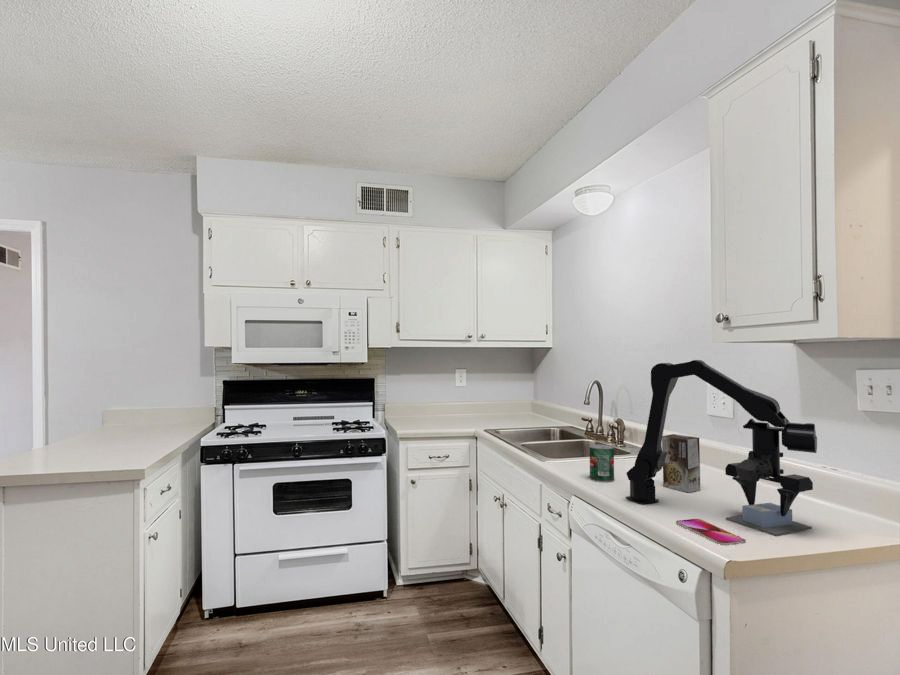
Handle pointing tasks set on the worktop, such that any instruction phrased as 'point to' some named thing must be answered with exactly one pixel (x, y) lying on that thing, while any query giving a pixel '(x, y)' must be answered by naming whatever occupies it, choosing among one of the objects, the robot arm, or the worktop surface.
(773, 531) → the mat
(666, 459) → the coffee box
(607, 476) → the canned tomato
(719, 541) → the smartphone
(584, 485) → the worktop surface
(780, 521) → the card box
